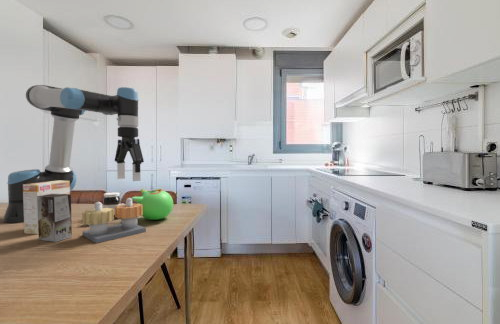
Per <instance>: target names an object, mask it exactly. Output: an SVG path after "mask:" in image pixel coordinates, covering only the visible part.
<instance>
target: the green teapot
mask: <svg viewBox="0 0 500 324" xmlns="http://www.w3.org/2000/svg"><path fill="white" fill-rule="evenodd" d="M140 192H141V196H132V197H130V198H131V199H132V202H135V203H136V204H142V205H143V215H142V216H141V217H143V218H144V219H146V220H150V221H157V220H158V221H159V220H162V219H164V218H165V217H168V215H170V214H171V213H172V211H173V209H174V200H173V197H172V196H171V194H170V193H168V192H167V191H165V190H163V188H158V189H153V190H150V191H148V190H146V189H144V188H142V189H140Z"/></svg>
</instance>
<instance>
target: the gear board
mask: <svg viewBox="0 0 500 324" xmlns="http://www.w3.org/2000/svg"><path fill="white" fill-rule="evenodd" d="M131 198H132V197H128V198H126V199H125V204H126V207H130V206H133V205H132V203H133V200H132V199H131ZM81 213H82V214H81V215H82V217H81V218H82V219H81V221H82V224H83V225H86V226H87V225H88V228H89V229H88V230H82V236H83V237H84V238H87V240H90V241H91V242H93V243H95V244H98V243H99V244H101V243H104V242H108V241H112V240H115V239H121V238H125V237H128V236H132V235H133V236H134V235H137V234H140V233H146V230H147V229H146V227H145V226H142V225H139V223H138V217H133V218H126V219H123V218H120V220H121V221H120V223H118V224H112V225H109V223H111V222H112V221H114V220H115V218H114V209H113V208H103V202H100V201H96V202H95V203H94V208H91V209H86V210H83V211H81Z"/></svg>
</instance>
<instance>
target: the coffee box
mask: <svg viewBox="0 0 500 324" xmlns="http://www.w3.org/2000/svg"><path fill="white" fill-rule="evenodd" d="M37 207H38V233H39V234H38V241H46V242H47V241H48V242H52V243H56V242H57V243H58V242H60V241H64V240H66V239H70V238H72V237H73V231H72V230H73V229H72V228H73V227H72V226H73V225H72V223H73V222H72V194H71V193H70V194H48V195H43V196H37Z"/></svg>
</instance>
